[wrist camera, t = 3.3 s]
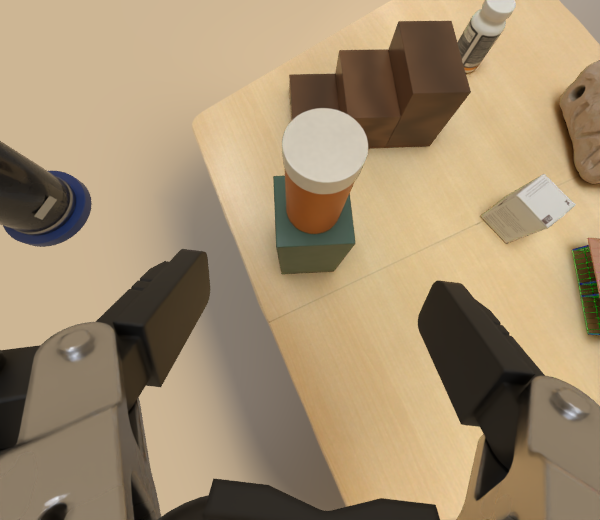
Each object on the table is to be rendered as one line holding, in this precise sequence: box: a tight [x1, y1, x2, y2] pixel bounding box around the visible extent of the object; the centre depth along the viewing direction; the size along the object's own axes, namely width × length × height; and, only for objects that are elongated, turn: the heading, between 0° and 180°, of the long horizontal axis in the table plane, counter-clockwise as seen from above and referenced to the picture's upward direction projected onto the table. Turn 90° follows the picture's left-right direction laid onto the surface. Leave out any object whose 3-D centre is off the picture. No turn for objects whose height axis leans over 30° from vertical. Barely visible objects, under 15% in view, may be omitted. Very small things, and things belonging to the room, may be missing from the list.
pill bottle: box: [457, 0, 516, 73], centre depth 46 cm, size 6×6×10 cm
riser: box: [289, 21, 471, 148], centre depth 42 cm, size 24×13×11 cm, turn 93°
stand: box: [273, 176, 355, 274], centre depth 34 cm, size 8×8×14 cm
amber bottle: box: [282, 108, 368, 234], centre depth 22 cm, size 6×6×10 cm
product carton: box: [481, 174, 575, 243], centre depth 39 cm, size 6×6×7 cm
